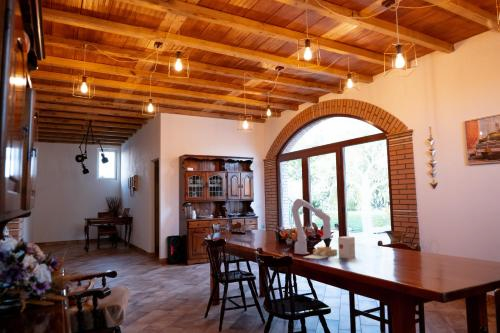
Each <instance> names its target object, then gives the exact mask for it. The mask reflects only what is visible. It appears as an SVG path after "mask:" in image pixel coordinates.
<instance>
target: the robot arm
mask: <svg viewBox="0 0 500 333" xmlns="http://www.w3.org/2000/svg"><path fill="white" fill-rule="evenodd" d="M301 207H304V208H307V209H309V210H310V211H312V212H313V213H314V216H316V217H317V218H318V219H320V220H322V223H323V224H322V227H323V229H322V230H323V232H322V233H323V236H320V239H321V240H322V241H323V242H324V247H331V246H330V245H331V242H332V240H333V238H334V235H332V232H331V231H332V230H331V227H332V226H331V217H330V215H329V214H327V213H325V212H324V211H323V210H322V209H318V208H315V207H314V206H313V205H311V203H309V202H308V201H306V200H304V198H297V199H295V200H294V201H293V205H292V208H291V213H292V216H293V220H294V224H295V229H296V234H297V237H296V239H297V241H295V242H294V254H296V255H297V254H299V255H308V254H310V252H308V246H307V245H308V244H307V238H308V236H307V235H306V233H305V231H304V229H303V224H302V221H301V217H300V213H299V210H300V209H301Z"/></svg>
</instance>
